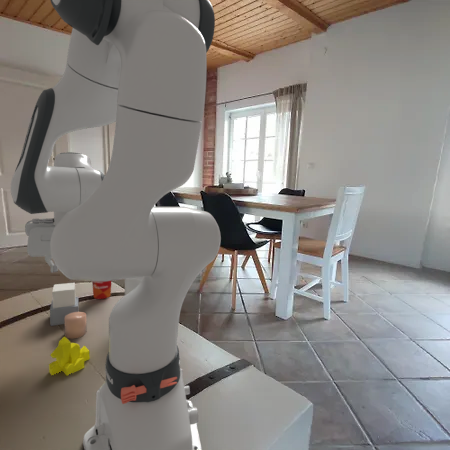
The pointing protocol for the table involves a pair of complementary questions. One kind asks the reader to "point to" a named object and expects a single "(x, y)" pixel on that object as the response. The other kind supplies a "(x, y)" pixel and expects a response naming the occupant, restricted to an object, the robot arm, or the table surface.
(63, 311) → the tower base block
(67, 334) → the peach rounded cylinder
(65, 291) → the tower top block
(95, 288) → the paper cup
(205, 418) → the table surface
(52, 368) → the yellow crystal cluster
